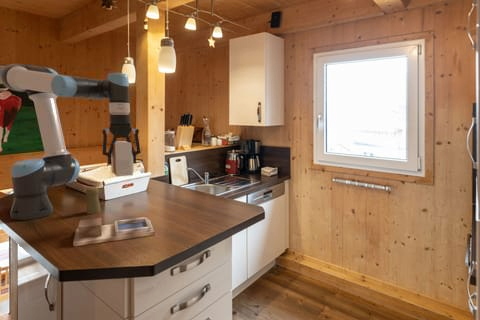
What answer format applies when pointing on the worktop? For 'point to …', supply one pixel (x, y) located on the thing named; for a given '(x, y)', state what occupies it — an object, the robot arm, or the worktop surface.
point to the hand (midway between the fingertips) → (122, 171)
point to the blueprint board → (111, 230)
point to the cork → (93, 201)
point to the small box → (122, 158)
